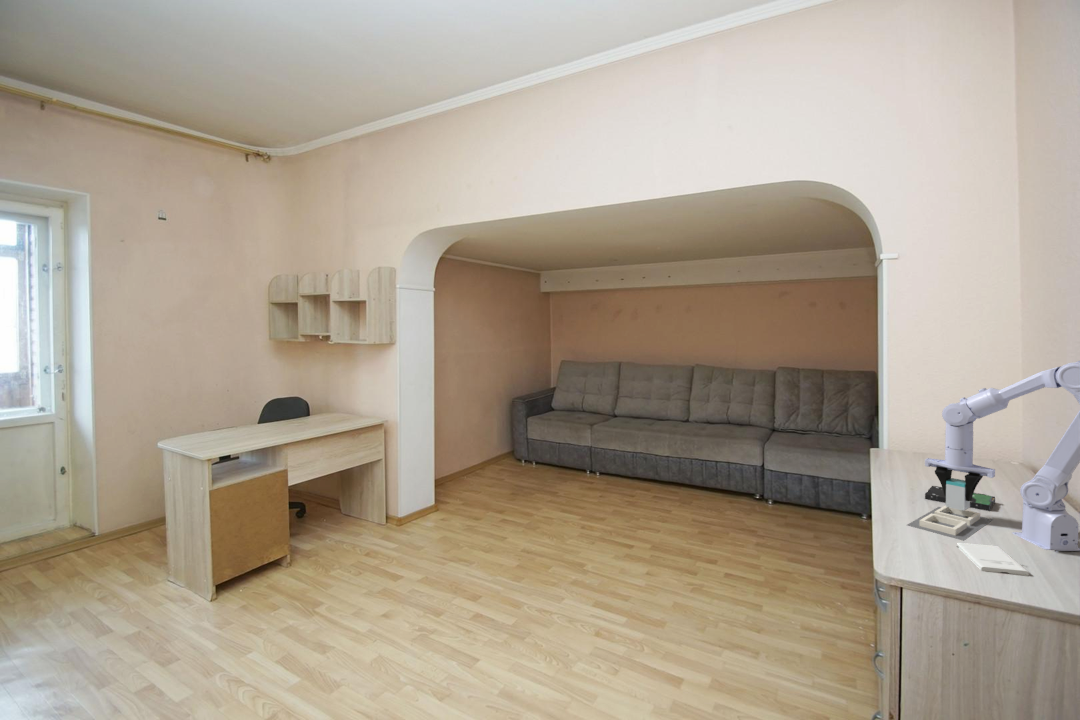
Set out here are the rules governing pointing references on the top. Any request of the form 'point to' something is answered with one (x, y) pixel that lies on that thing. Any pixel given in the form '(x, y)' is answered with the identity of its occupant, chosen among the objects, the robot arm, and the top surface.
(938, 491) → the disk drive
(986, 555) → the external hard drive
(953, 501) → the plug
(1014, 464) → the top surface
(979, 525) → the mat
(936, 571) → the top surface
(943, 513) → the frame
